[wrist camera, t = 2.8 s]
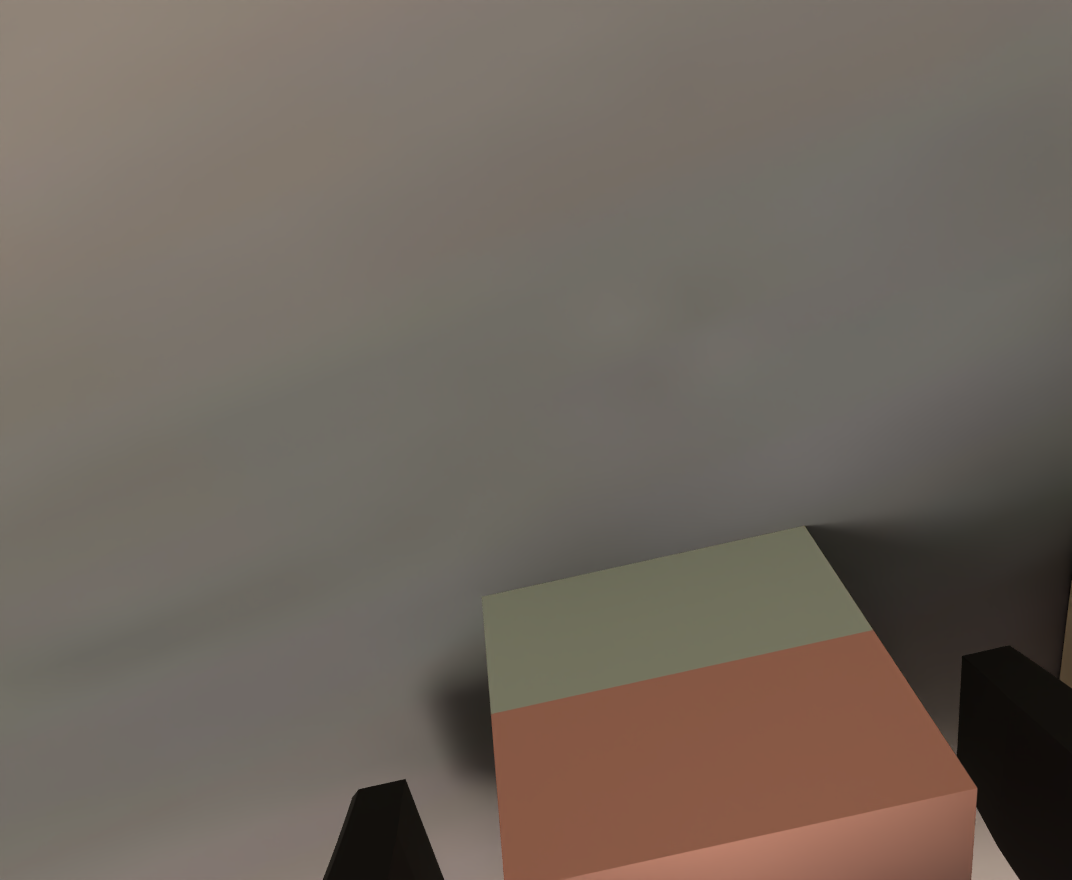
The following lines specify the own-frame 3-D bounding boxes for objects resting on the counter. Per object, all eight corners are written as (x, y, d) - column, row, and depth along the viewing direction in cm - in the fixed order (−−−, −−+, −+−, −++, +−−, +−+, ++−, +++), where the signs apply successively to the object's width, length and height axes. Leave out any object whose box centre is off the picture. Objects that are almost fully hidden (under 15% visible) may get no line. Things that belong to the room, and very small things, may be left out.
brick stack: (815, 749, 14) (959, 1046, 10) (542, 810, 14) (584, 1128, 10) (802, 522, 12) (976, 788, 8) (480, 593, 12) (505, 891, 8)
